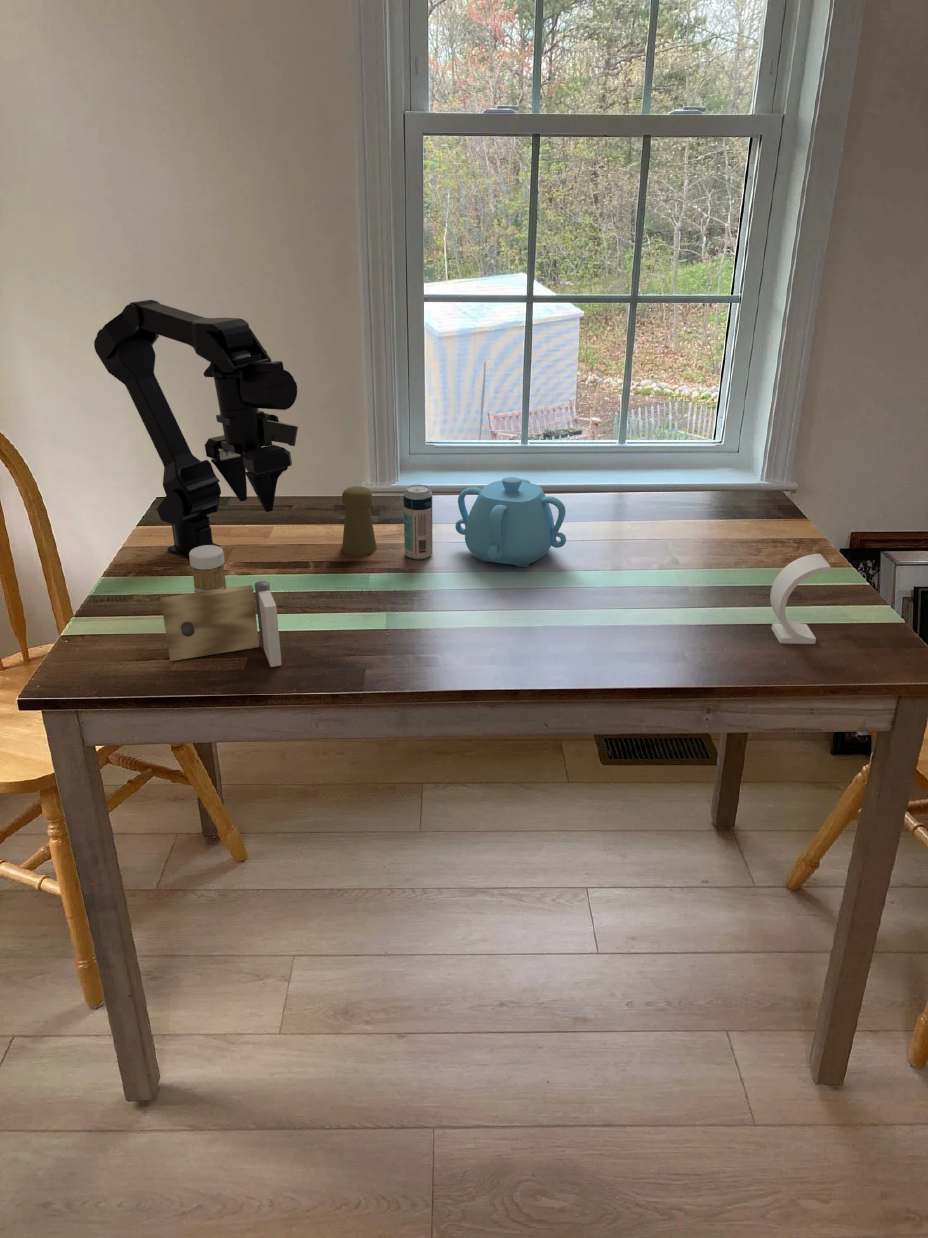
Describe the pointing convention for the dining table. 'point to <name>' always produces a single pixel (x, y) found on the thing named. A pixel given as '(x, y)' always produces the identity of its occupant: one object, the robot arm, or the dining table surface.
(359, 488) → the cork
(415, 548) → the beer can
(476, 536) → the decorative pot
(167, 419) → the robot arm
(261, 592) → the door frame
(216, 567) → the sprinkles bottle
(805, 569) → the headphone stand
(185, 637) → the door
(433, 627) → the dining table surface
